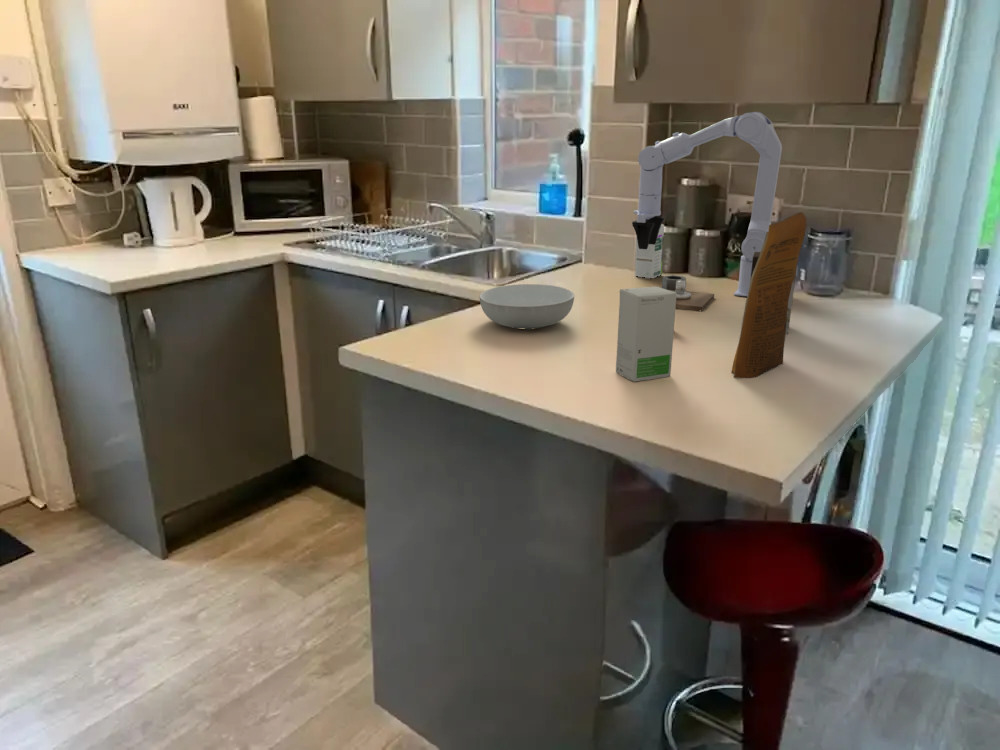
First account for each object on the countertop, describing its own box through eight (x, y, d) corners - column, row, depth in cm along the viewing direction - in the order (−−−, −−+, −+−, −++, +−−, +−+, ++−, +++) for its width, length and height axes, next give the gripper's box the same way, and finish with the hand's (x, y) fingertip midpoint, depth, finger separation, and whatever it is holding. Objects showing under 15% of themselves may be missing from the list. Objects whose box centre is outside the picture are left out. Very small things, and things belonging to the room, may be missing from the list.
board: (714, 297, 195) (714, 293, 195) (701, 310, 184) (702, 306, 183) (659, 292, 201) (659, 288, 201) (643, 304, 189) (643, 300, 189)
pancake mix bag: (802, 361, 148) (821, 211, 139) (752, 386, 136) (770, 224, 126) (769, 353, 153) (785, 208, 144) (718, 377, 140) (732, 219, 131)
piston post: (692, 296, 193) (693, 280, 192) (687, 300, 189) (688, 284, 187) (671, 293, 195) (672, 278, 194) (666, 298, 191) (667, 282, 190)
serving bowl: (514, 307, 188) (514, 279, 186) (590, 320, 177) (591, 290, 174) (460, 327, 172) (460, 297, 170) (541, 343, 161) (541, 310, 158)
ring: (686, 289, 204) (687, 276, 203) (681, 294, 199) (682, 280, 198) (665, 287, 206) (666, 274, 205) (659, 292, 201) (660, 278, 200)
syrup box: (652, 279, 216) (656, 226, 211) (633, 276, 219) (636, 224, 214) (662, 275, 220) (665, 223, 215) (643, 273, 224) (646, 221, 219)
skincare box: (633, 383, 138) (637, 296, 132) (613, 371, 143) (617, 288, 138) (672, 376, 141) (678, 291, 136) (651, 365, 147) (656, 284, 141)
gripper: (643, 190, 210) (640, 241, 215) (626, 196, 198) (624, 249, 203) (668, 191, 207) (665, 242, 212) (653, 197, 195) (650, 252, 200)
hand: (647, 246), depth 207 cm, fingers open, 7 cm apart
